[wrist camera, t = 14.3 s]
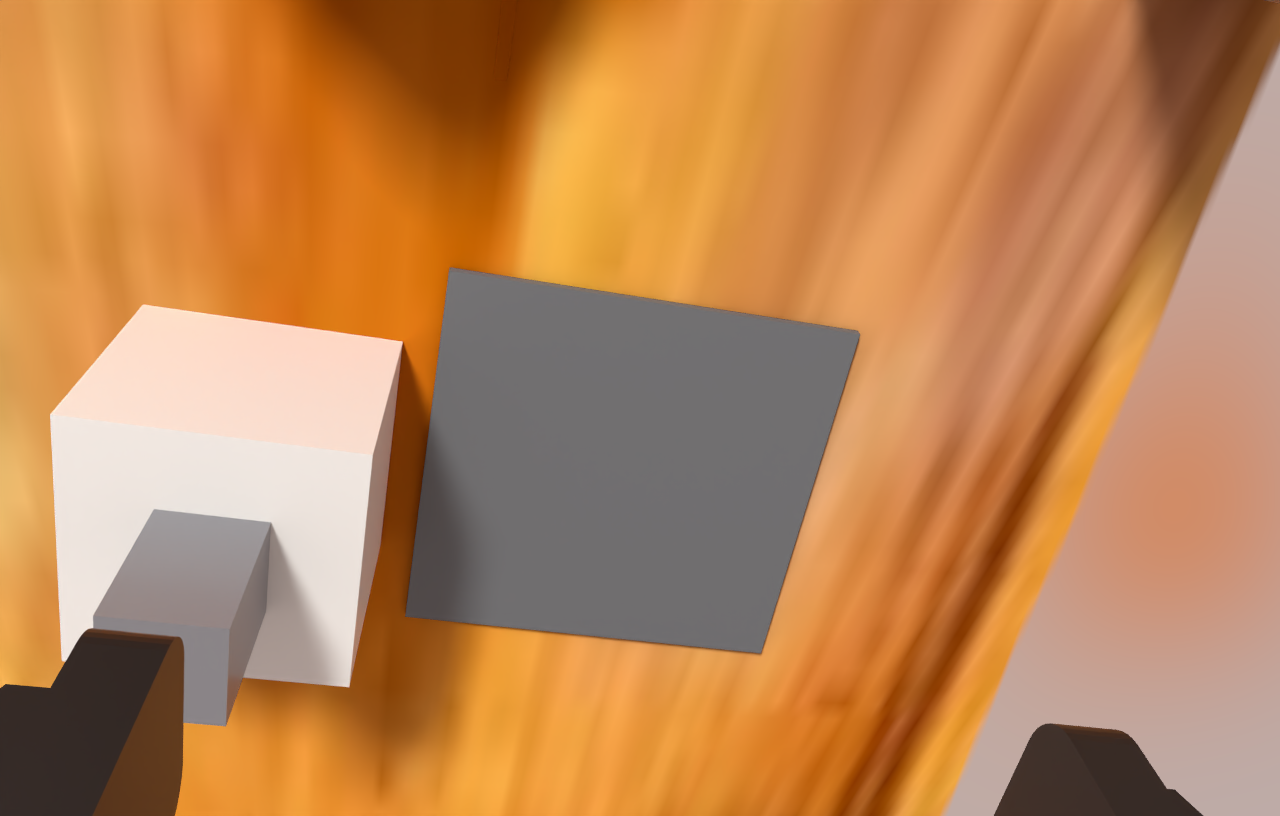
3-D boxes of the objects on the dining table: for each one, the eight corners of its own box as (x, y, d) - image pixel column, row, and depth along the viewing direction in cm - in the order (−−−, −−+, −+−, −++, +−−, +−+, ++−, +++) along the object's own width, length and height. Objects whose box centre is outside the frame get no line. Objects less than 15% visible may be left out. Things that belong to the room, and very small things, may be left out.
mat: (857, 330, 49) (860, 334, 48) (759, 648, 56) (760, 653, 56) (449, 267, 46) (449, 270, 45) (406, 611, 53) (405, 616, 53)
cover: (402, 341, 47) (346, 553, 33) (380, 544, 52) (322, 806, 38) (143, 304, 45) (-33, 511, 31) (144, 518, 50) (-9, 782, 36)
